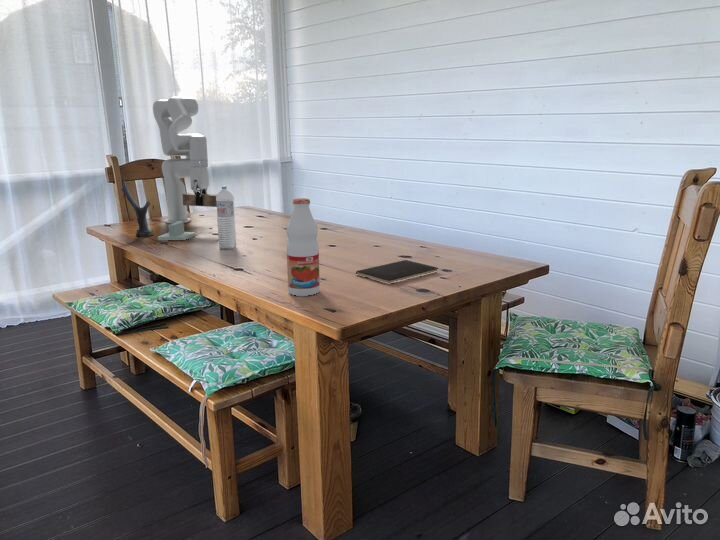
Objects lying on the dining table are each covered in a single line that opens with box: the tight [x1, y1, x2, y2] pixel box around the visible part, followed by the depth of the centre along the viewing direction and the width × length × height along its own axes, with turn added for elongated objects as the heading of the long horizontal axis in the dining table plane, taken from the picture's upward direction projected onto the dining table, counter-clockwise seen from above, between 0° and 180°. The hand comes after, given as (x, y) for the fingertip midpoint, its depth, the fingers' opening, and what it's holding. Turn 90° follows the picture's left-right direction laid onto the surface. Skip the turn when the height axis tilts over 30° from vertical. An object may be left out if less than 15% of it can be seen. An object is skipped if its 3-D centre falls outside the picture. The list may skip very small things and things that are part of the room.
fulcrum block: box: [157, 221, 197, 241], centre depth 255 cm, size 12×12×6 cm
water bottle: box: [216, 185, 237, 250], centre depth 232 cm, size 7×7×25 cm
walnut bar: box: [182, 192, 218, 208], centre depth 262 cm, size 16×4×5 cm, turn 81°
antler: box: [120, 180, 154, 238], centre depth 257 cm, size 12×8×25 cm
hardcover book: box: [355, 259, 439, 283], centre depth 194 cm, size 16×23×2 cm
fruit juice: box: [286, 198, 321, 297], centre depth 170 cm, size 9×9×28 cm
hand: (201, 204), depth 263 cm, fingers closed on walnut bar, 4 cm apart
